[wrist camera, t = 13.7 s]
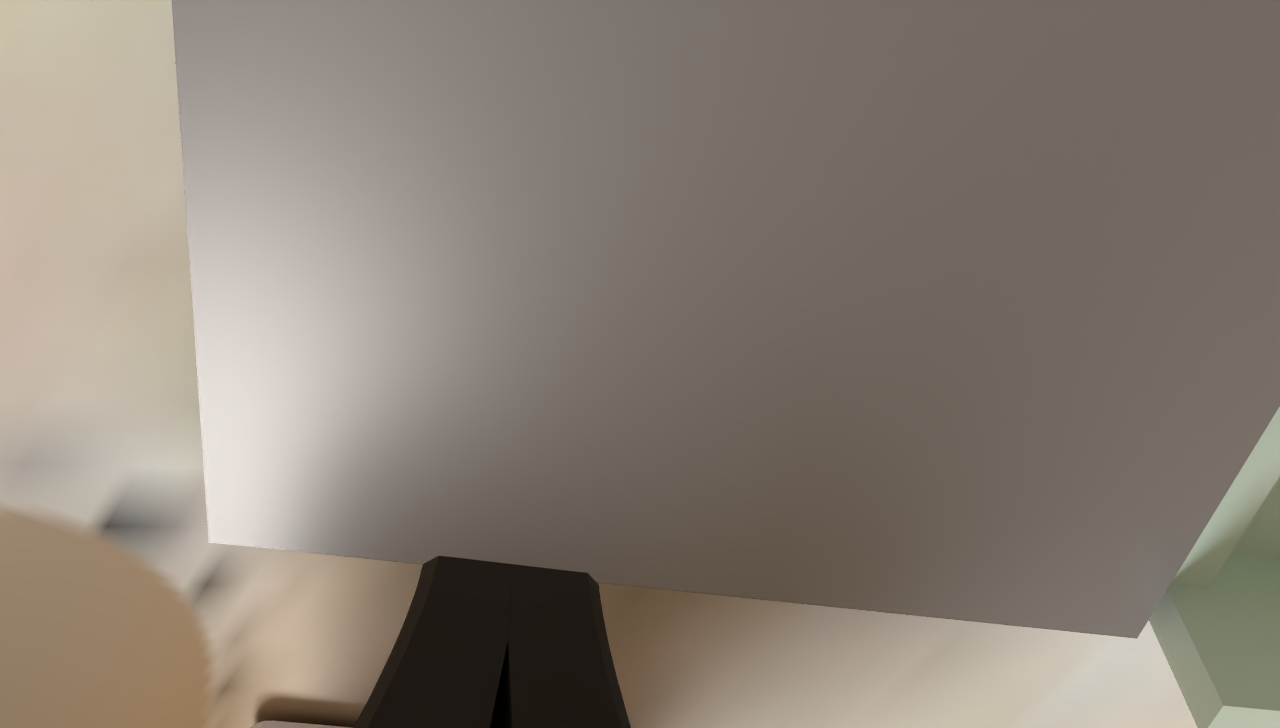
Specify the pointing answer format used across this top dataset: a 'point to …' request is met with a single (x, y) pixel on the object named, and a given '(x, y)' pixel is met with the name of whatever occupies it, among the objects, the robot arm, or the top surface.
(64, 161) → the top surface
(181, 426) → the top surface
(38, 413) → the top surface
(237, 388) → the board
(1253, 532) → the tray
